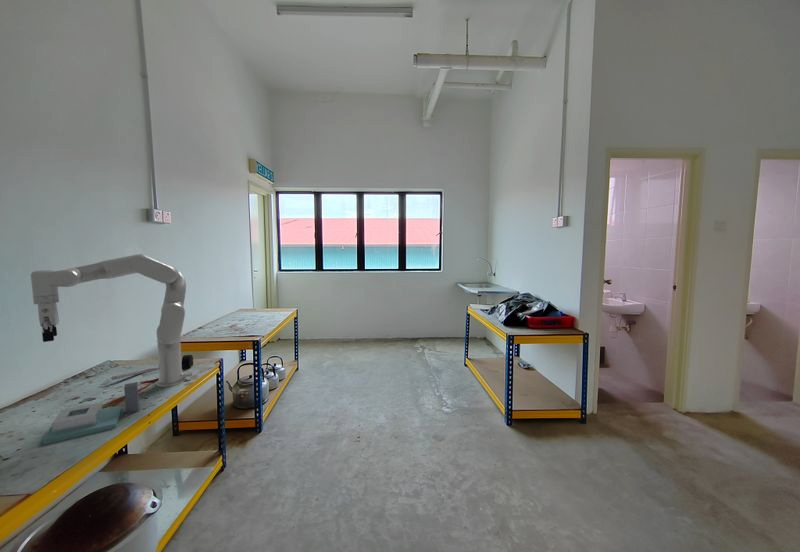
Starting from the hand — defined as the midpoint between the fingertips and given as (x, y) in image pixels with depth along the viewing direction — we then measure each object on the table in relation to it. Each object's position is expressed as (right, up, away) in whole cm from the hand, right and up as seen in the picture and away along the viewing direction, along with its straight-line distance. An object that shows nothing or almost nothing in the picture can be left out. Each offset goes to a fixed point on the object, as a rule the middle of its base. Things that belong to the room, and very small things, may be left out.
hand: (50, 338), depth 146 cm
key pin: (+37, -31, -2) cm, 48 cm away
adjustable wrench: (+6, -28, +24) cm, 37 cm away
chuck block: (+28, -32, -13) cm, 44 cm away
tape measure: (+28, -26, +51) cm, 64 cm away
